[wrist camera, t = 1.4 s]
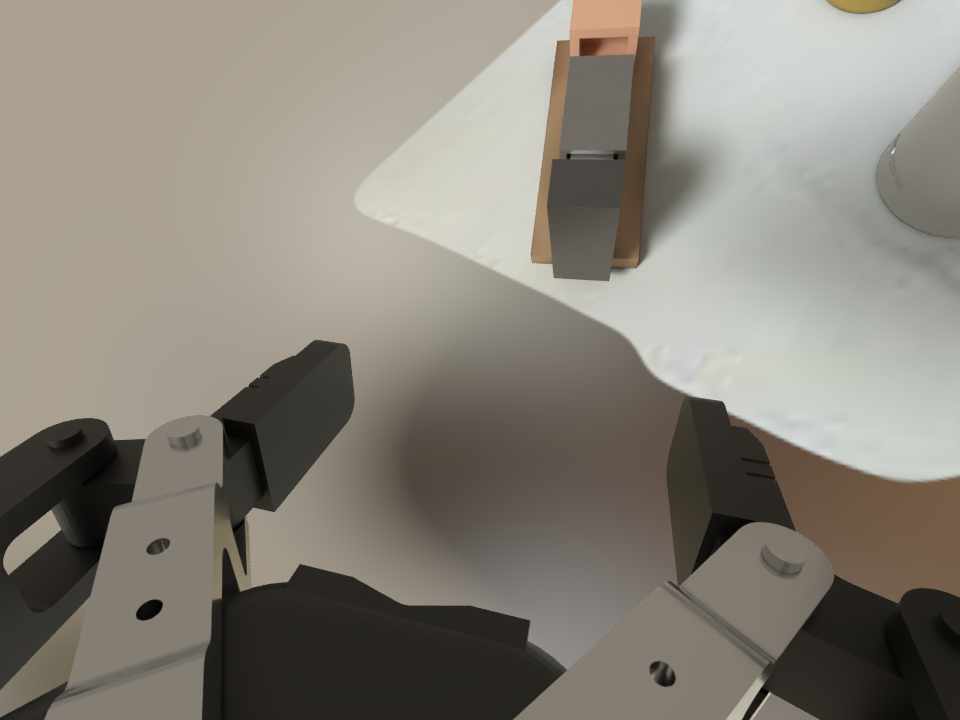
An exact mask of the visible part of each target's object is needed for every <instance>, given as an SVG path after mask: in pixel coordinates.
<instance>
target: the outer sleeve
mask: <svg viewBox="0 0 960 720" xmlns="http://www.w3.org/2000/svg"><path fill="white" fill-rule="evenodd" d="M633 64H634V54H629V55H597V56H570V62H569V70H568V79H567V87H566V96H565V104H564V113H563V121H562V130H561V139H560V147H559V158H560V159H570V158H571V154H614V159H613V160H625V156H626V148H627V136H628V124H629V112H630V100H631V88H632V76H633ZM624 163H625V161H624Z"/></svg>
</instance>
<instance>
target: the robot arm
mask: <svg viewBox="0 0 960 720" xmlns="http://www.w3.org/2000/svg"><path fill="white" fill-rule="evenodd" d="M876 179H877V184H878V190H879V192H880V194H881V196H882V199H883V201H884V202H885V204H886V205H887V206H888V207H889V209H890V210H891V211H892V212H893V213H894V214H895V215H896V216H897V217H899V218H900V219H901V220H902V221H903V222H905V223H907V224H909V225H910V226H912V227H914V228H916V229H918V230H921V231H923V232H926V233H929V234H932V235H937V236H942V237H952V238H960V67H959V69H958V70H957V71H956V72H955V73H954V74H953V75H952V76H951V77H950V78H949V80H948V81H947V82H946V83H945V84H944V85H943V86H942V87H941V88H940V90H939V91H938V92H937V93H936V94H935V95H934V96H933V97H932V98H931V99H930V101H929V102H928V103H927V104H926V105H925V106H924V107H923V108H922V109H921V110H920V112H919V113H918V114H917V115H916V116H915V117H914V118H913V119H912V120H911V122H910V123H909V124H908V125H907V126H906V127H905V128H904V129H903V130H902V132H901V133H900V134H899V135H898V136H897V137H896V138H895V139H894V140H893V142H892V143H891V144H890V145H889V146H888V147H887V149H886V150H885V152H884V153H883V154H882V156H881V159H880V161H879V164H878V166H877V177H876ZM353 407H354V388H353V379H352V369H351V359H350V352H349V349H348V347H347V345H345V344H342V343H335V342H328V341H322V340H315V341H313V342H311V343H310V344H309V345H308V346H307V347H306V348H304V349H303V350H302V351H301V352H300V353H298V354H297V355H296V356H292V357H289V358H287V359H285V360H282V361H280V362H278V363H276V364H274V365H273V366H271V367H270V368H269V369H267V370H266V371H265V372H264V373H263V374H261V375H260V378H256V379H255V380H254V381H253V382H251V383H250V384H249V387H245V388H244V389H243V390H242V391H240V392H239V393H238V394H237V395H235V396H234V397H233V398H232V399H231V400H229V401H228V402H227V403H226V404H224V405H223V406H222V407H221V408H220V409H218V410H217V411H216V412H215V413H213V414H212V415H211V416H202V415H199V416H188V417H183V418H179V419H176V420H173V421H170V422H168V423H166V424H164V425H162V426H160V427H159V428H157V429H155V430H154V431H153V432H152V433H151V434H150V435H149V436H148V437H147V438H146V439H136V440H114V439H113V437H112V434H111V432H110V429H109V427H108V425H107V423H105V422H104V421H102V420H99V419H93V418H85V419H84V418H83V419H75V420H70V421H66V422H62V423H59V424H56V425H53V426H51V427H48V428H46V429H44V430H42V431H40V432H39V433H37V434H35V435H34V436H32V437H31V438H29V439H27V440H26V441H24V442H23V443H22V444H20V445H18V446H17V447H15V448H13V449H12V450H11V451H9V452H7V453H6V454H4V455H3V456H1V457H0V690H1V689H2V688H3V686H4V685H5V684H6V683H7V682H8V681H9V680H10V679H11V678H12V677H13V676H14V675H15V674H16V673H17V672H18V671H19V670H20V669H21V668H22V667H23V666H24V665H25V664H26V663H27V661H28V660H29V659H30V658H31V657H32V656H33V655H34V654H35V653H36V652H37V651H38V650H39V649H40V648H41V647H42V646H43V645H44V643H46V642H47V640H49V638H50V637H51V636H52V635H53V634H54V633H55V632H56V631H57V630H58V629H59V628H60V627H61V626H62V625H63V624H64V623H65V622H66V621H67V620H68V619H69V618H70V616H72V615H73V613H75V611H76V610H77V609H78V608H79V607H80V606H81V605H82V604H83V603H84V602H85V601H86V600H87V599H88V598H89V597H90V600H89V604H88V608H87V612H86V616H85V620H84V624H83V627H82V631H81V635H80V639H79V643H78V647H77V651H76V655H75V659H74V663H73V667H72V671H71V675H70V678H69V681H68V682H66V683H64V684H62V685H60V686H58V687H57V688H55V689H53V690H51V691H49V692H47V693H45V694H43V695H42V696H40V697H38V698H36V699H34V700H32V701H31V702H29V703H27V704H25V705H23V706H21V707H19V708H17V709H15V710H13V711H12V712H10V713H8V714H6V715H4V716H2V717H1V718H0V720H753V718H754V717H755V715H756V714H757V713H758V711H759V710H760V708H761V707H762V706H763V704H764V702H765V701H766V700H767V698H768V697H769V696H770V694H771V693H772V694H774V695H776V696H778V697H780V698H782V699H783V700H785V701H787V702H789V703H791V704H792V705H794V706H796V707H798V708H800V709H802V710H804V711H805V712H807V713H809V714H811V715H813V716H814V717H816V718H818V719H820V720H960V597H957V596H954V595H952V594H949V593H946V592H943V591H939V590H934V589H927V588H926V589H925V588H920V589H919V588H918V589H913V590H910V591H908V592H906V593H905V594H904V595H903V597H902V598H901V600H900V601H899V602H898V603H895V602H893V601H891V600H888V599H886V598H884V597H881V596H879V595H877V594H874V593H872V592H870V591H867V590H865V589H863V588H860V587H858V586H855V585H853V584H851V583H849V582H847V581H845V580H843V579H841V578H839V577H838V576H836V575H834V573H833V568H832V566H831V564H830V562H829V560H828V558H827V557H826V556H825V554H824V553H823V552H822V551H821V550H820V549H819V548H818V547H817V546H816V545H815V544H813V543H812V542H811V541H810V540H809V539H807V538H806V537H804V536H802V535H801V534H799V533H797V532H796V530H795V528H794V525H793V522H792V520H791V517H790V514H789V512H788V509H787V507H786V504H785V501H784V499H783V496H782V493H781V491H780V488H779V486H778V483H777V481H775V475H774V473H773V470H772V467H771V466H769V463H770V462H769V459H768V457H767V454H766V452H765V449H764V446H763V444H761V442H759V440H758V439H757V438H756V437H754V435H753V434H752V433H751V432H750V431H749V430H748V429H747V428H742V427H736V426H731V424H730V421H729V417H728V414H727V411H726V408H725V405H724V403H723V402H722V401H717V400H710V399H704V398H697V397H690V396H686V397H685V399H684V401H683V404H682V407H681V411H680V414H679V418H678V422H677V426H676V429H675V433H674V437H673V440H672V444H671V448H670V452H669V456H668V463H667V488H668V497H669V506H670V516H671V524H672V534H673V544H674V553H675V562H676V572H677V581H678V587H677V586H676V585H675V584H673V583H672V582H670V581H668V582H665V583H663V584H662V585H660V586H659V587H658V588H657V589H655V590H654V591H653V592H652V593H651V594H650V595H649V596H648V597H647V598H646V599H644V600H643V601H642V602H641V603H640V604H639V605H638V606H637V607H636V608H635V609H634V610H633V611H631V612H630V613H629V614H628V615H627V616H626V617H625V618H624V619H623V620H622V621H620V622H619V623H618V624H617V625H616V626H615V627H614V628H613V629H612V630H611V631H610V632H608V633H607V634H606V635H605V636H604V637H603V638H602V639H601V640H600V641H599V642H598V643H596V644H595V645H594V646H593V647H592V648H591V649H590V650H589V651H588V652H587V653H585V655H583V656H582V657H581V658H580V659H579V660H578V661H577V662H576V663H575V664H573V665H572V666H571V667H570V668H569V669H568V670H567V669H566V668H565V667H564V666H562V665H561V664H560V663H559V662H558V661H557V660H556V659H555V658H553V657H552V656H550V655H549V654H548V653H546V652H545V651H543V650H542V649H541V648H539V647H538V646H536V645H534V644H532V643H530V642H529V641H528V635H529V626H530V620H526V619H521V618H517V617H514V616H509V615H505V614H501V613H497V612H493V611H489V610H485V609H481V608H477V607H473V606H409V605H403V604H401V603H398V602H396V601H394V600H393V599H391V598H389V597H387V596H386V595H384V594H382V593H380V592H378V591H377V590H375V589H373V588H371V587H370V586H368V585H366V584H364V583H362V582H361V581H359V580H357V579H355V578H354V577H350V576H346V575H342V574H338V573H334V572H330V571H326V570H322V569H317V568H313V567H310V566H306V565H301V564H300V565H299V567H298V568H297V570H296V571H295V573H294V574H293V576H292V577H291V578H290V580H289V582H282V583H274V584H267V585H262V586H258V587H253V588H252V581H251V561H250V542H249V525H248V520H247V517H246V515H247V514H248V513H249V511H250V510H251V509H252V508H253V507H254V508H258V509H263V510H267V511H272V512H275V511H276V510H277V508H278V507H279V506H280V505H281V504H282V502H283V501H284V500H285V499H286V497H287V496H288V494H290V492H291V491H292V490H293V489H294V487H295V486H296V485H297V483H298V482H299V481H300V480H301V479H302V478H303V476H304V475H305V474H306V473H307V471H308V470H309V469H310V468H311V466H312V465H313V464H314V463H315V461H316V460H317V459H318V458H319V456H320V455H321V454H322V453H323V452H324V450H325V449H326V448H327V447H328V445H329V444H330V443H331V442H332V440H333V439H334V438H335V436H336V435H337V434H338V433H339V432H340V430H341V429H342V428H343V427H344V425H345V424H346V423H347V422H348V420H349V419H350V417H351V414H352V411H353ZM50 510H52V511H53V514H54V516H55V518H56V520H57V521H58V524H59V525H60V527H61V529H62V530H61V531H60V532H58V533H57V534H56V535H55V536H54V537H53V538H52V539H50V540H49V541H48V542H47V543H46V544H44V545H43V546H42V547H41V548H40V549H39V550H37V551H36V552H35V553H34V554H33V555H32V556H30V557H29V558H28V559H27V560H26V561H25V562H24V563H22V564H21V565H20V566H19V567H18V568H17V569H15V570H14V571H13V572H12V573H11V574H10V575H8V574H7V573H6V571H5V569H4V566H3V558H4V554H5V551H6V550H7V548H8V546H9V545H10V543H11V542H12V541H13V540H14V539H15V538H16V537H17V536H19V535H20V534H21V533H22V532H24V530H26V529H27V528H28V527H30V526H31V525H32V524H33V523H35V522H36V521H37V520H38V519H40V518H41V517H42V516H43V515H45V514H46V513H47V512H48V511H50Z"/></svg>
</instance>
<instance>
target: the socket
mask: <svg viewBox="0 0 960 720" xmlns="http://www.w3.org/2000/svg"><path fill="white" fill-rule="evenodd" d="M641 4H642V0H573V8H572V17H571V25H570V56H597V55H629V54H634V64H635V57H636V49H637V42H638V35H639V28H640V16H641ZM634 64H633V71H634ZM632 78H633V76H632Z"/></svg>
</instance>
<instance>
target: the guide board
mask: <svg viewBox="0 0 960 720" xmlns="http://www.w3.org/2000/svg"><path fill="white" fill-rule="evenodd" d="M654 39H655V37H645V38H638V42H637V49H636V57H635V64H634V71H633V78H632V88H631V100H630V112H629V124H628V136H627V148H626V156H625V163H624V173H623V185H622V197H621V209H620V215H619V221H618V227H617V234H616V240H615V246H614V253H613V259H612V265H611V267H623V268H636V267H637V264H638V260H639V247H640V233H641V219H642V205H643V192H644V178H645V164H646V150H647V136H648V122H649V109H650V95H651V81H652V67H653V53H654ZM569 62H570V40H564V41H557V47H556V55H555V63H554V71H553V79H552V88H551V96H550V104H549V112H548V120H547V128H546V136H545V144H544V152H543V160H542V168H541V176H540V184H539V192H538V200H537V208H536V216H535V224H534V232H533V240H532V248H531V259H532V263H545V264H552V254H551V244H550V233H549V223H548V213H547V200H548V192H549V184H550V175H551V167H552V159H560V158H559V147H560V139H561V130H562V121H563V113H564V104H565V96H566V87H567V79H568V70H569Z"/></svg>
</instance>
